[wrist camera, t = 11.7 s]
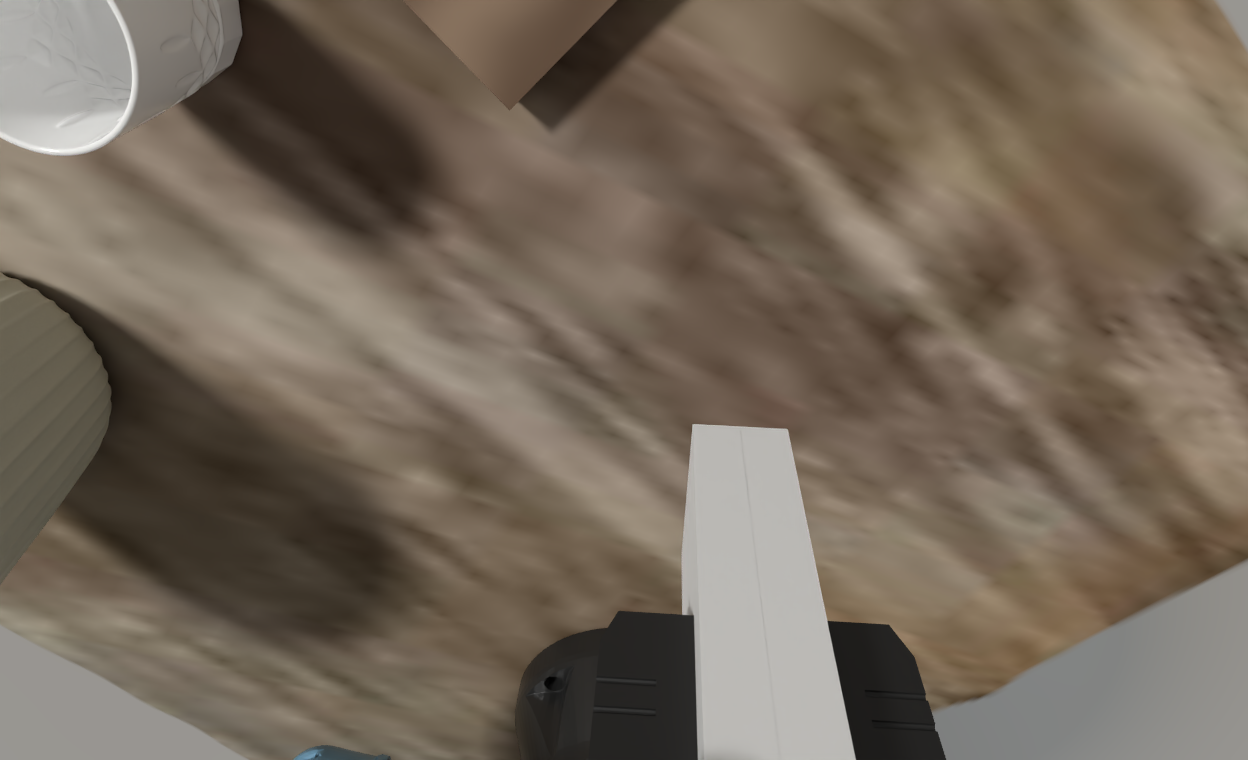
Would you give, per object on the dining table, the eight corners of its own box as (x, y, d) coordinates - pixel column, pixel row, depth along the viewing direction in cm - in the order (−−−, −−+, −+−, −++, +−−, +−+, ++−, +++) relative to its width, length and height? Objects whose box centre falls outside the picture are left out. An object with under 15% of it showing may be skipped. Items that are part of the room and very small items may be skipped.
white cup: (289, 7, 38) (178, 44, 30) (201, 131, 41) (77, 198, 33) (131, -136, 36) (-41, -141, 27) (50, 8, 39) (-128, 45, 30)
